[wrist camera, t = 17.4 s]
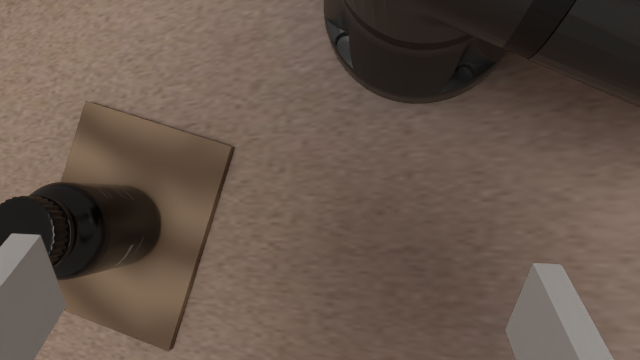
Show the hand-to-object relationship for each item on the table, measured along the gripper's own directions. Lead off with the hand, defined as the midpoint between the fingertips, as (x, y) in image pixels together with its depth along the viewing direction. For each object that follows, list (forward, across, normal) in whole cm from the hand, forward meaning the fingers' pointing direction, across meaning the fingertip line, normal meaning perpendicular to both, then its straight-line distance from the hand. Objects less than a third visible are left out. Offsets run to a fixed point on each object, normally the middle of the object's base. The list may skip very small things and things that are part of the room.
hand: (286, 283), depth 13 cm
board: (+23, -15, -18) cm, 33 cm away
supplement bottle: (+22, -16, -17) cm, 32 cm away
